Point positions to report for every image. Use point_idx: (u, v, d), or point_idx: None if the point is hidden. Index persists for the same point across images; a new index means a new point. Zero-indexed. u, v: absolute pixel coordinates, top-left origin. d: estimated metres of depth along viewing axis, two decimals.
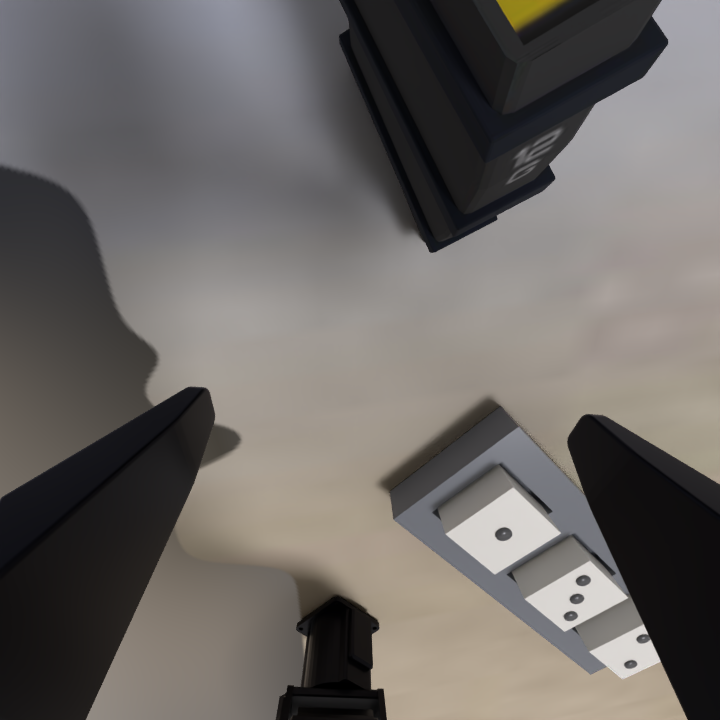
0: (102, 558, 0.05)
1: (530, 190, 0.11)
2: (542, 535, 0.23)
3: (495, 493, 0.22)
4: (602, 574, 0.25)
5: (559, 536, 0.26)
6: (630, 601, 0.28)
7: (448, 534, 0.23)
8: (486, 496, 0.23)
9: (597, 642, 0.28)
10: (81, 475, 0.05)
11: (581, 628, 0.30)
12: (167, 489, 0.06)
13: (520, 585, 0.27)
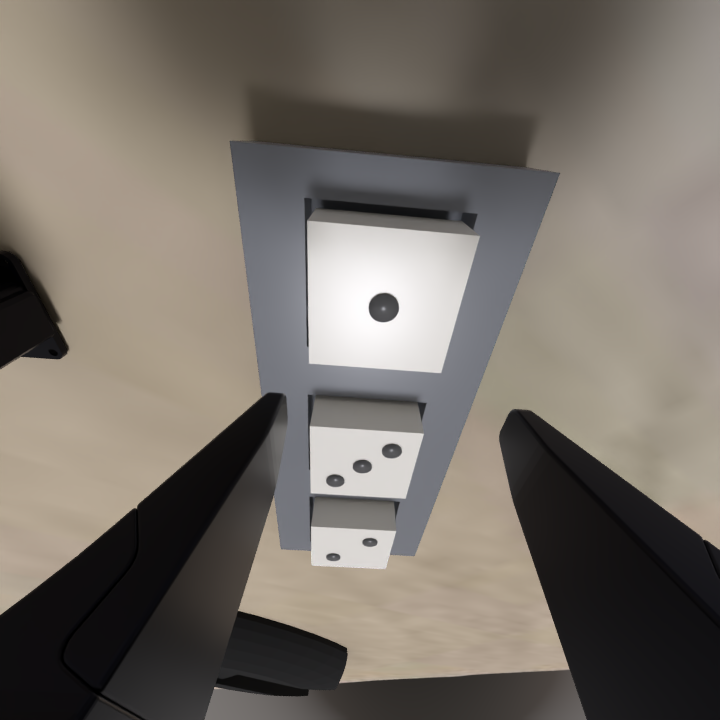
0: (223, 564, 0.05)
1: None
2: (420, 357, 0.14)
3: (440, 230, 0.11)
4: (415, 458, 0.18)
5: (409, 394, 0.18)
6: (388, 507, 0.24)
7: (311, 226, 0.11)
8: (421, 226, 0.12)
9: (327, 523, 0.22)
10: (204, 482, 0.05)
11: (320, 504, 0.24)
12: (261, 495, 0.06)
13: (316, 412, 0.17)
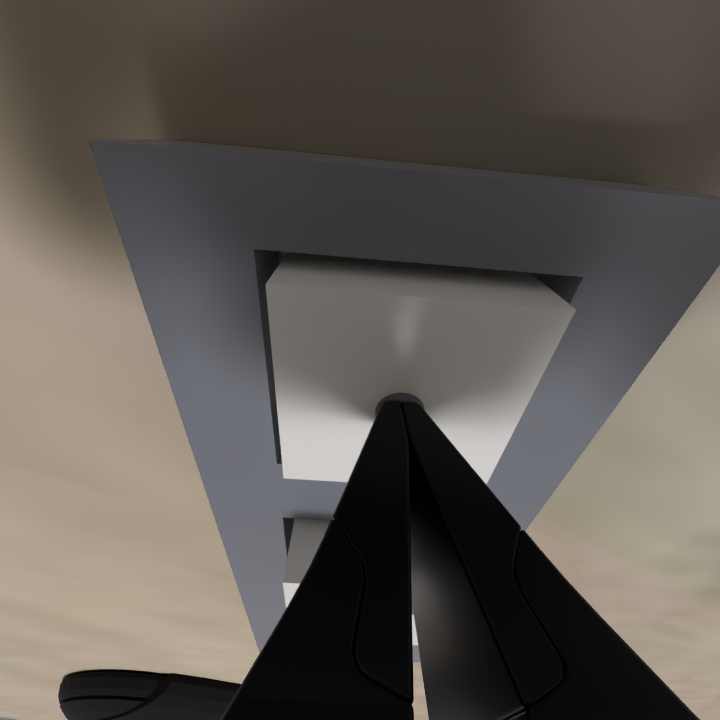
0: None
1: None
2: None
3: (503, 295, 0.06)
4: None
5: None
6: None
7: (273, 294, 0.06)
8: (468, 288, 0.07)
9: None
10: (382, 493, 0.05)
11: None
12: None
13: (294, 551, 0.11)
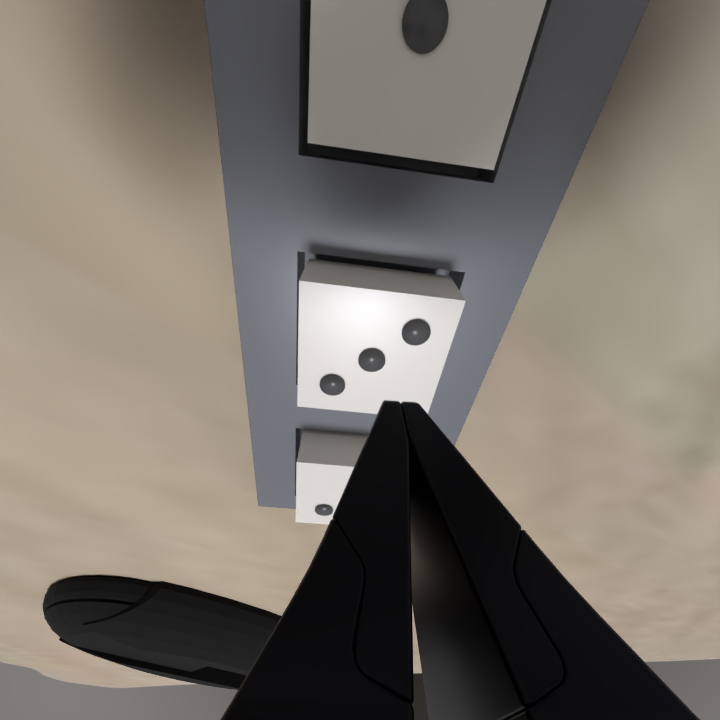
0: None
1: None
2: (468, 136, 0.10)
3: None
4: (447, 348, 0.13)
5: (442, 255, 0.13)
6: None
7: None
8: None
9: (317, 458, 0.17)
10: (382, 493, 0.05)
11: (309, 438, 0.18)
12: None
13: (309, 271, 0.12)
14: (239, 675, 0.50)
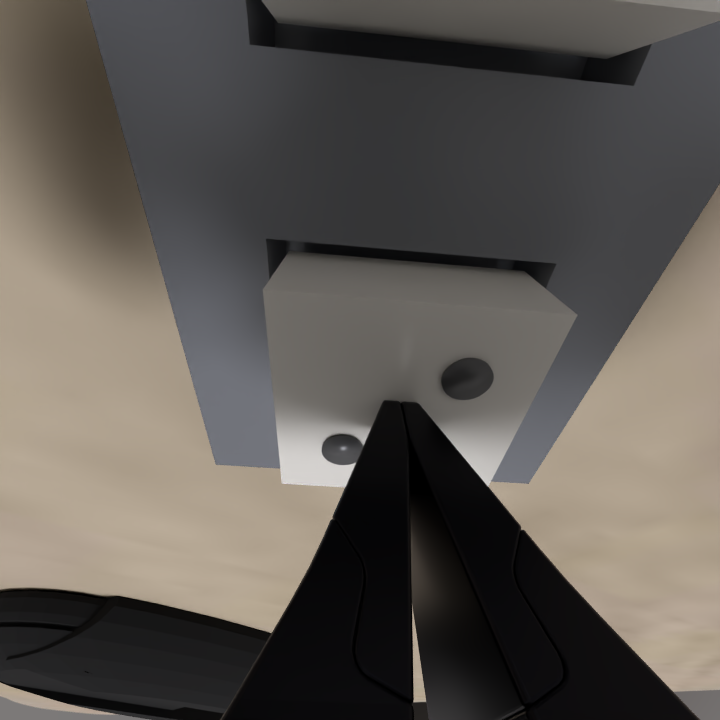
0: None
1: None
2: None
3: None
4: None
5: None
6: (518, 281, 0.07)
7: None
8: None
9: (322, 288, 0.06)
10: (382, 493, 0.05)
11: (302, 263, 0.07)
12: None
13: None
14: None
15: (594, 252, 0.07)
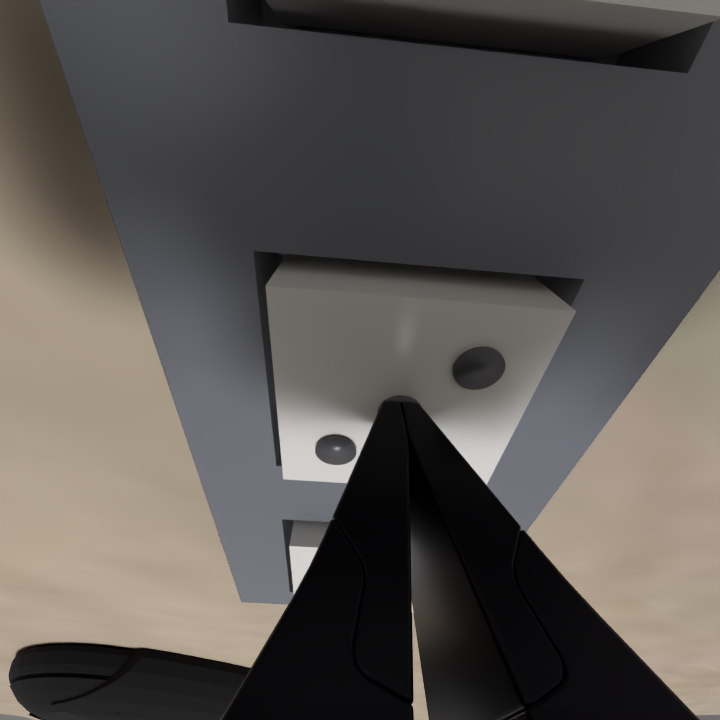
0: None
1: None
2: None
3: None
4: (530, 391, 0.07)
5: (542, 248, 0.06)
6: None
7: None
8: None
9: (319, 538, 0.12)
10: (382, 493, 0.05)
11: None
12: None
13: (287, 269, 0.07)
14: None
15: None
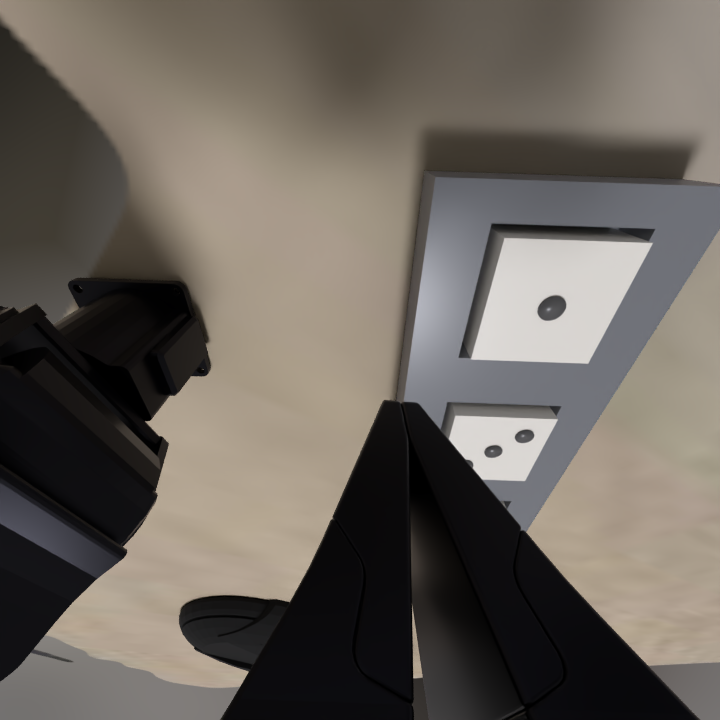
0: None
1: None
2: (572, 350, 0.16)
3: (614, 239, 0.13)
4: (543, 442, 0.20)
5: (546, 398, 0.19)
6: None
7: (506, 242, 0.13)
8: (595, 237, 0.13)
9: None
10: (382, 493, 0.05)
11: None
12: None
13: (455, 404, 0.19)
14: None
15: (522, 499, 0.24)
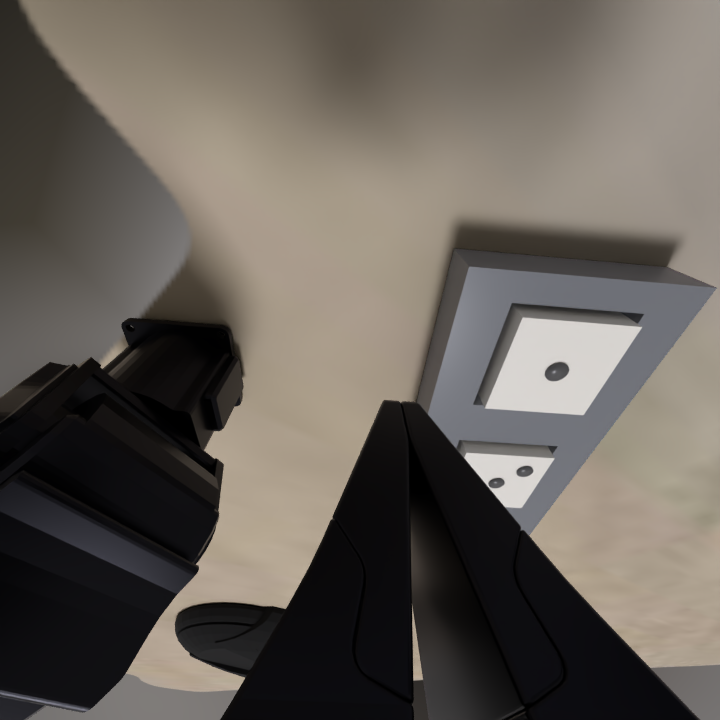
0: None
1: None
2: (571, 404, 0.19)
3: (611, 321, 0.16)
4: (540, 477, 0.22)
5: (545, 440, 0.21)
6: None
7: (524, 320, 0.15)
8: (595, 317, 0.16)
9: None
10: (382, 493, 0.05)
11: None
12: None
13: (465, 441, 0.22)
14: None
15: None
